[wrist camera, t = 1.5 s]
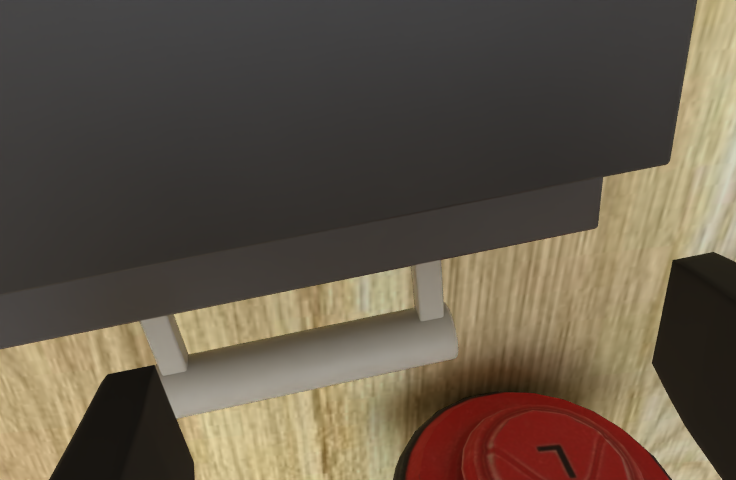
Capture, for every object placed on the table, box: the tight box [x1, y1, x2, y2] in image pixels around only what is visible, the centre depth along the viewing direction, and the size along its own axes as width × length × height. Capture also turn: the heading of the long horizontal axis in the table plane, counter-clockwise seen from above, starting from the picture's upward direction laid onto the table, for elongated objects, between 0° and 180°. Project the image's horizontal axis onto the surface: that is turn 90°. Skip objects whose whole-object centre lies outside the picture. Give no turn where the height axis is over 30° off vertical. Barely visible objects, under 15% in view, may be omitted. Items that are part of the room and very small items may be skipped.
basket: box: [0, 177, 603, 419], centre depth 12 cm, size 17×11×7 cm, turn 6°
